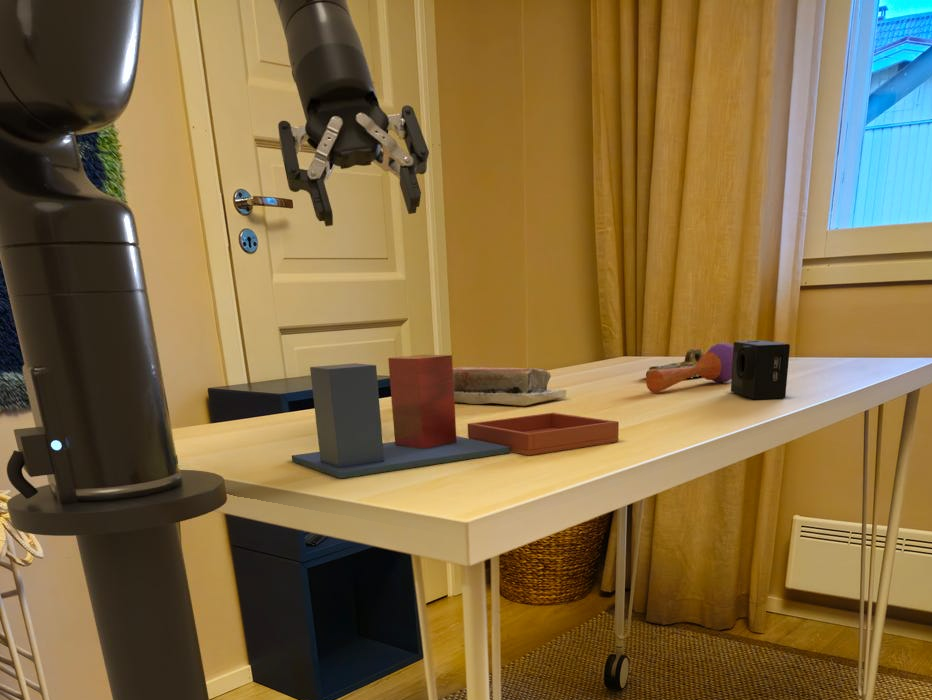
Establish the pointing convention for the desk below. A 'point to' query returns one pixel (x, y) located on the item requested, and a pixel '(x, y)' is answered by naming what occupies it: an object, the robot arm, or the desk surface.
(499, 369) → the weathered brick on slab
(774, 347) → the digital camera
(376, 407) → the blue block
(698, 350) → the seal
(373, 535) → the desk surface
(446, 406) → the red block
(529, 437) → the red tray
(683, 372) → the orange and purple microphone
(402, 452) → the blue mat
